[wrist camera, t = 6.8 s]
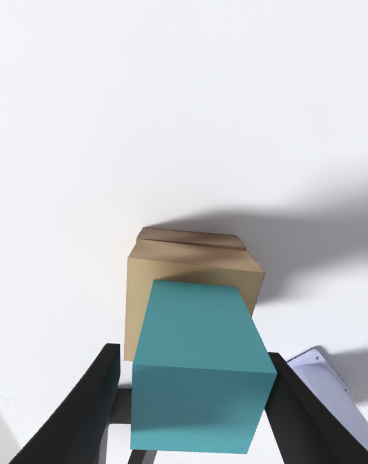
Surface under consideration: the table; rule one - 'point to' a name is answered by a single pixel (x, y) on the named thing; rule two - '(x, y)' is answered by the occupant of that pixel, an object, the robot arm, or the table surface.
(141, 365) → the teal cube
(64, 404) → the robot arm
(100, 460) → the phone stand
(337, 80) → the table surface
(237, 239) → the tower base
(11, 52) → the table surface
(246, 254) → the tower top
